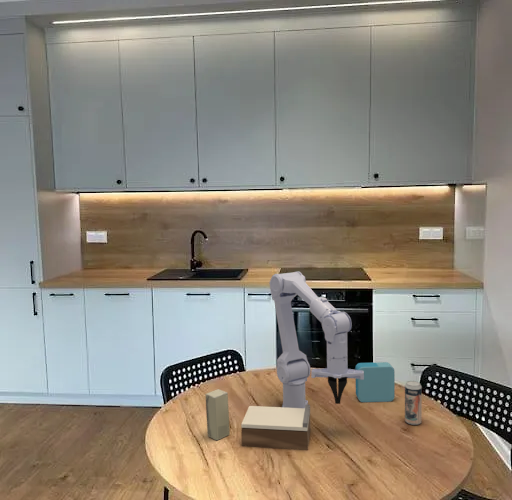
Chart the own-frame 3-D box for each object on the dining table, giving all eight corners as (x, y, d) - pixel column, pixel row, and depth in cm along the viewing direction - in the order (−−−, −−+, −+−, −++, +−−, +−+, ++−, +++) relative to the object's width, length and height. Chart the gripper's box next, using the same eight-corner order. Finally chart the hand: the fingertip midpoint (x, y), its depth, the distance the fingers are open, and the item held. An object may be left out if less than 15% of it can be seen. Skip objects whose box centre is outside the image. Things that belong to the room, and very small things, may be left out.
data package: (390, 396, 163) (390, 361, 162) (394, 401, 159) (394, 366, 158) (355, 397, 163) (355, 362, 162) (358, 402, 159) (358, 367, 158)
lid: (249, 409, 144) (249, 401, 143) (310, 411, 141) (309, 404, 140) (241, 427, 132) (241, 419, 132) (307, 431, 129) (307, 423, 129)
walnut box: (250, 426, 144) (249, 410, 144) (310, 429, 141) (310, 412, 141) (242, 446, 132) (241, 428, 132) (307, 450, 129) (307, 432, 129)
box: (220, 430, 142) (218, 388, 141) (230, 435, 139) (228, 391, 138) (206, 436, 138) (204, 393, 137) (216, 441, 135) (214, 397, 134)
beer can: (401, 422, 144) (401, 383, 142) (409, 417, 147) (409, 379, 146) (417, 427, 140) (417, 387, 139) (424, 421, 144) (424, 382, 143)
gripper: (310, 359, 133) (311, 407, 134) (364, 361, 130) (364, 409, 132) (311, 351, 140) (312, 396, 141) (363, 353, 137) (363, 399, 139)
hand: (337, 402), depth 137 cm, fingers closed
